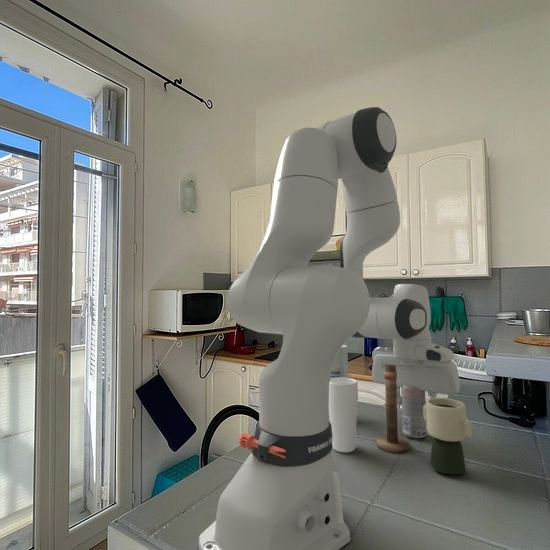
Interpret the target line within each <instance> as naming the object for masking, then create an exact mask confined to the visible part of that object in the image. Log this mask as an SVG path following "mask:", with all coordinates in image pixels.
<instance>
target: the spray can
mask: <svg viewBox="0 0 550 550" xmlns="http://www.w3.org/2000/svg"><path fill="white" fill-rule="evenodd" d="M348 350H349V347H348V345H347V344H346V345H345V344H343V345H342V347H341V349H340V350H339V352H338V354H337V356H336V358H335V360H334V363H333V366H332V369H331V374H330V379H331V378H336V377H345V378H349V365H348V364H349V357H348V356H349V355H348V353H349V352H348ZM329 421H330V417H329Z"/></svg>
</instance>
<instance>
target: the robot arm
mask: <svg viewBox="0 0 550 550" xmlns="http://www.w3.org/2000/svg"><path fill="white" fill-rule="evenodd" d="M396 147H397V132H396V129H395V125H394V121H393V119H392V118H391V116H390V115H389V114H388V112H386V111H385V110H383V109H382V108H380V107H379V106H371V107H366V108H361V109H359V110H357V111H356V112H354V113H351V114H348V115H345V116H342V117H339V118H336V119H333V120H329V121H327V122H325V123H323V124H322V125H319V126H318V127H302V128H299V129H297V130H295V131H292V133H291V134H290V135H288V138H286V140H285V142H284V144H283V147H282V150H281V153H280V157H279V160H278V162H277V163H278V164H277V167H276V172H275V176H274V183H273V190H272V197H271V202H270V203H271V204H270V207H269V208H270V209H269V213H268V220H267V221H268V222H267V224H266V225H267V226H266V230H265V232H264V234H263V237H262V240H261V242H260V245H259V247H258V249H257V250H256V252H255V255H254V257H253V258H252V259H251V262H250V264H249V265H248V266H247V268H245V270H244V271H243V273H241V275H239V276H238V277H237V278H236V279H235V280H234V281H233V282H232V283H231V285H230V287H229V290H228V292H227V293H228V294H227V302H226V303H227V309H228V313H229V315H230V317H231V318H232V320H233V321H234V322H235V323H236V324H237V325H239V326H241V327H244V328H246V329H249V330H252V331H253V332H257V333H260V334H261V333H263V334H264V333H265V334H272V335H282V344H281V348H280V352H279V355H278V357H277V359H274V360H273V361H272V362H270V363H268V364H267V365H266V366H265V367H264V368H263V369H262V370H261V373H260V374H259V378H258V405H259V407H258V410H259V411H258V412H259V413H258V414H259V415H258V417H259V419H258V422H257V424H256V427H255V430H254V435H253V434H252V435H251V434H250V433H248V432H243V433H241V434H240V437H239V438H238V445H239V446H240V447H241V448H245V449H247V450H249V451H250V454H249V455H248V457H247V458H246V459H245V460H244V462H243V464H242V465H241V466H240V468H239V469H238V471H237V472H236V474H235V475H234V476H233V477H232V479H231V481H230V482H229V483H228V485H227V486H226V488H225V489H224V490H223V492H222V493H221V494H220V497H219V500H218V503H217V508H216V517H215V520H214V521H213V522H212V523H211V524H210V525H209V526H208V527H206V529H205V530H204V531H202V532H201V534H200V535H199V537H198V550H340V549H341V548H342V547H344V546H346V545H347V544H348V543H350V541H351V531H350V529H349V526H348V525H347V524H346V522H345V521H344V514H343V505H342V495H341V487H340V484H341V483H340V477H339V474H338V471H337V469H336V466H335V464H334V461H333V458H332V454H331V451H332V450H333V447H332V439H333V432H332V426H331V423H330V420H329V382H330V374H331V369H332V366H333V363H334V360H335V358H336V356H337V354H338V352H339V350H340V349H341V347H342V345H345V344H346V342H347V341H348V340H349V339H350V338H351V337H352V338H354V339H355V338H356V339H368V338H371V339H382V340H392V344H393V345H392V347H388V346H387V347H385V346H384V347H383V346H378V347H376V348H374V349H373V351H372V355H371V356H372V357H371V358H372V359H371V360H372V361H373V362H372V369H371V379H372V381H373V382H374V383H375V384H380V385H385V378H384V370H385V365H395V366H396V371H397V379H396V390H397V406H402V395H401V394H400V392H399V389H400V388H402V387H403V386H404V385H408V386H417V388H418V389H419V390H422V391H425V392H427V395H428V397H430V398H437V396H438V394H440V395H447V396H455V395H457V394H458V392H460V389H461V385H460V377H459V371H458V367H457V365H456V363H455V362H454V361H453V360H452V359H454V352H453V350H451V349H449V348H447V347H445V346H441V345H439V344H436V343H433V342H432V335H431V332H430V324H431V321H432V320H431V319H432V318H431V317H432V315H431V305H430V298H429V293H428V289H427V288H426V287H425V286H424V285H422V284H419V283H413V282H412V283H411V282H410V283H407V282H403V283H399V284H396V285H395V286H394V289H393V294H392V295H389V297H388V296H387V297H370V292H369V290H368V287H367V286H368V285H366V282H365V280H364V261H365V259H366V257H367V256H368V255H369V254H370V253H372V252H374V251H375V250H377V249H379V248H380V247H382V246H384V245H385V244H387V243H389V242H390V241H391V240H392V239H393V238H394V236H395V235H396V233H398V230H399V228H400V224H401V210H400V206H399V201H398V195H397V192H396V187H395V184H394V180H393V178H392V174H391V171H390V169H389V167H388V166H389V163H390V162H391V160H392V159H393V156H394V155H395V151H396ZM340 179H341V182H342V194H343V203H344V208H345V213H346V214H345V215H346V231H345V235H344V236H342V238H341V239H340V245H339V265H340V266H333V265H328V264H323V265H322V264H321V265H309V266H308V264H309V263H310V261H311V260H312V258H313V257H314V255H315V254H316V253H317V252H318V251H320V250H321V249H322V248H324V247H325V246H326V245H327V244H328V242H329V241H330V239H331V238H332V237H333V233H334V229H335V219H336V210H337V198H338V188H339V187H338V186H339V180H340ZM426 401H427V400H425V402H424V405H426Z"/></svg>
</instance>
